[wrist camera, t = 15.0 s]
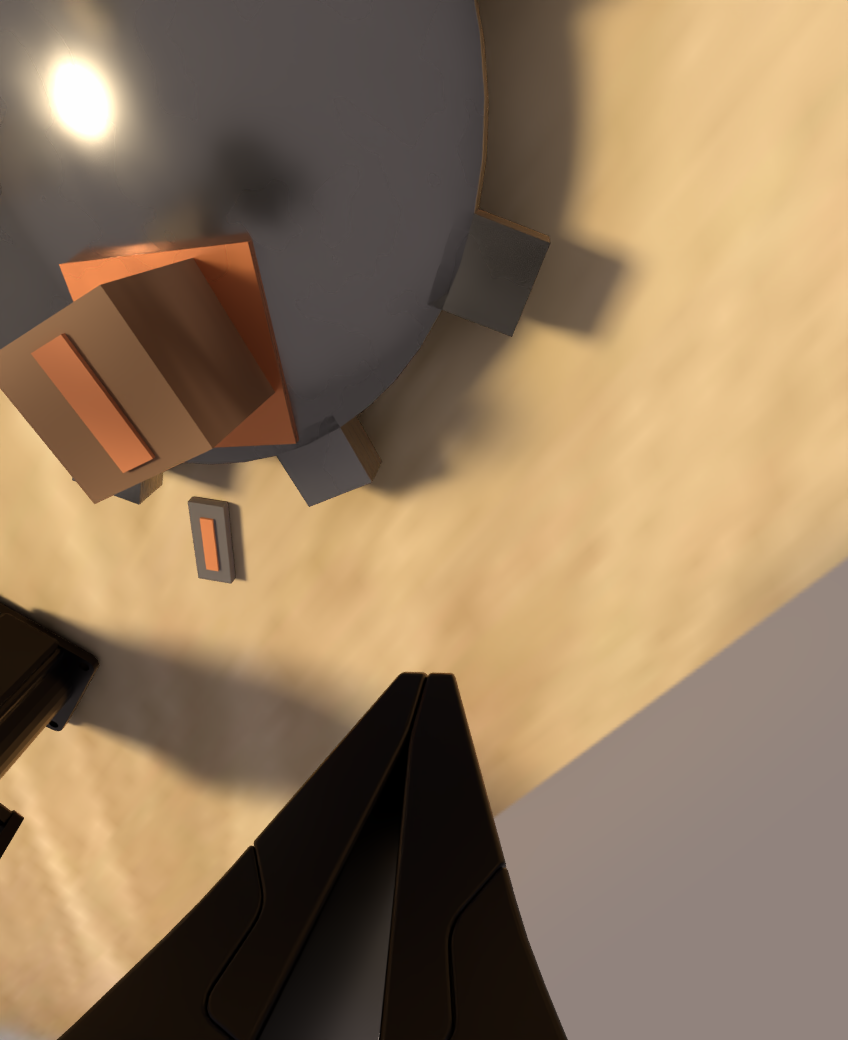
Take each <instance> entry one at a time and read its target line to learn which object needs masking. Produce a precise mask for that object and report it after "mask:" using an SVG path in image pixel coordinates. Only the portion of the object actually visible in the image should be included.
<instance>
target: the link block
mask: <svg viewBox="0 0 848 1040" xmlns="http://www.w3.org/2000/svg"><path fill="white" fill-rule="evenodd" d="M0 389H1V390H2V391H3V392H4V394H5V395H6V396H7V397H8V398H9V400H10V401H11V402H12V403H13V405H14V406H15V407H16V408H17V409H18V411H19V412H20V413H21V414H22V416H23V417H24V418H25V419H26V421H27V422H28V423H29V424H30V425H31V427H32V428H33V429H34V430H35V432H36V433H37V434H38V435H39V436H40V438H41V439H42V440H43V441H44V443H45V444H46V445H47V446H48V448H49V449H50V450H51V451H52V452H53V454H54V455H55V456H56V457H57V459H58V460H59V461H60V462H61V464H62V465H63V466H64V467H65V468H66V470H67V471H68V472H69V473H70V475H71V476H72V477H73V478H74V479H75V481H76V482H77V483H78V484H79V486H80V487H81V488H82V489H83V491H84V492H85V493H86V494H87V495H88V497H89V498H90V499H91V500H92V502H93V503H94V504H96V503H98V502H100V501H102V500H104V499H106V498H109V497H111V496H113V495H115V494H117V493H119V492H121V491H123V490H126V489H128V488H130V487H132V486H134V485H136V484H138V483H141V482H143V481H145V480H147V479H149V478H151V477H153V476H155V475H158V474H160V473H162V472H164V471H166V470H168V469H170V468H173V467H175V466H177V465H179V464H181V463H183V462H185V461H187V460H190V459H192V458H194V457H196V456H198V455H200V454H202V453H205V452H207V451H209V450H211V449H213V448H214V447H215V446H216V445H217V444H218V443H220V442H221V441H222V440H223V439H224V438H225V437H226V436H227V435H228V434H230V433H231V432H232V431H233V430H234V429H235V428H236V427H237V426H238V425H240V424H241V423H242V422H243V421H244V420H245V419H246V418H247V417H248V416H250V415H251V414H252V413H253V412H254V411H255V410H256V409H257V408H258V407H260V406H261V405H262V404H263V403H264V402H265V401H266V400H267V399H268V398H270V397H271V396H272V395H273V394H274V393H275V391H274V389H273V388H272V386H271V385H270V383H269V381H268V380H267V378H266V376H265V375H264V373H263V371H262V370H261V368H260V367H259V365H258V363H257V362H256V360H255V358H254V357H253V355H252V354H251V352H250V350H249V349H248V347H247V345H246V344H245V342H244V340H243V339H242V337H241V336H240V334H239V332H238V331H237V329H236V327H235V326H234V324H233V322H232V321H231V319H230V318H229V316H228V314H227V313H226V311H225V309H224V308H223V306H222V305H221V303H220V301H219V300H218V298H217V296H216V295H215V293H214V291H213V290H212V288H211V287H210V285H209V283H208V282H207V280H206V278H205V277H204V275H203V274H202V272H201V270H200V269H199V267H198V265H197V264H196V262H195V260H194V259H193V258H190V259H187V260H183V261H180V262H176V263H173V264H169V265H166V266H163V267H159V268H156V269H152V270H149V271H145V272H142V273H139V274H135V275H132V276H128V277H125V278H121V279H118V280H115V281H111V282H108V283H104V284H101V285H99V286H97V287H96V288H94V289H93V290H91V291H90V292H88V293H87V294H85V295H84V296H82V297H80V298H79V299H77V300H76V301H74V302H73V303H71V304H70V305H68V306H67V307H65V308H64V309H62V310H60V311H59V312H57V313H56V314H54V315H53V316H51V317H50V318H48V319H47V320H45V321H44V322H42V323H40V324H39V325H37V326H36V327H34V328H33V329H31V330H30V331H28V332H27V333H25V334H24V335H22V336H20V337H19V338H17V339H16V340H14V341H13V342H11V343H10V344H8V345H7V346H5V347H4V348H2V349H0Z"/></svg>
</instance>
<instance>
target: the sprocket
mask: <svg viewBox="0 0 848 1040" xmlns="http://www.w3.org/2000/svg"><path fill="white" fill-rule="evenodd" d="M488 107H489V99H488V85H487V70H486V56H485V42H484V36H483V30H482V25H481V19H480V14H479V8H478V2H477V0H0V349H2V348H4V347H5V346H7V345H8V344H10V343H11V342H13V341H14V340H16V339H17V338H19V337H20V336H22V335H24V334H25V333H27V332H28V331H30V330H31V329H33V328H34V327H36V326H37V325H39V324H40V323H42V322H44V321H45V320H47V319H48V318H50V317H51V316H53V315H54V314H56V313H57V312H59V311H60V310H62V309H64V308H65V307H67V306H68V305H70V304H71V303H73V302H74V301H76V300H77V299H79V298H80V297H82V296H84V295H85V294H87V293H88V292H90V291H91V290H93V289H94V288H96V287H97V286H99V285H101V284H104V283H108V282H111V281H115V280H118V279H121V278H125V277H128V276H132V275H135V274H139V273H142V272H145V271H149V270H152V269H156V268H159V267H163V266H166V265H169V264H173V263H176V262H180V261H183V260H187V259H190V258H193V259H194V260H195V262H196V264H197V265H198V267H199V269H200V270H201V272H202V274H203V275H204V277H205V278H206V280H207V282H208V283H209V285H210V287H211V288H212V290H213V291H214V293H215V295H216V296H217V298H218V300H219V301H220V303H221V305H222V306H223V308H224V309H225V311H226V313H227V314H228V316H229V318H230V319H231V321H232V322H233V324H234V326H235V327H236V329H237V331H238V332H239V334H240V336H241V337H242V339H243V340H244V342H245V344H246V345H247V347H248V349H249V350H250V352H251V354H252V355H253V357H254V358H255V360H256V362H257V363H258V365H259V367H260V368H261V370H262V371H263V373H264V375H265V376H266V378H267V380H268V381H269V383H270V385H271V386H272V388H273V389H274V391H275V393H274V394H273V395H272V396H271V397H270V398H268V399H267V400H266V401H265V402H264V403H263V404H262V405H261V406H260V407H258V408H257V409H256V410H255V411H254V412H253V413H252V414H251V415H250V416H248V417H247V418H246V419H245V420H244V421H243V422H242V423H241V424H240V425H238V426H237V427H236V428H235V429H234V430H233V431H232V432H231V433H230V434H228V435H227V436H226V437H225V438H224V439H223V440H222V441H221V442H220V443H218V444H217V445H216V446H215V447H214V448H213V449H211V450H209V451H207V452H205V453H202V454H200V455H198V456H196V457H194V458H192V459H190V460H187V461H185V462H183V463H199V464H223V463H238V462H247V461H252V460H257V459H262V458H267V457H272V456H277V458H278V459H279V461H280V462H281V464H282V465H283V467H284V469H285V470H286V472H287V473H288V475H289V476H290V478H291V480H292V481H293V483H294V484H295V486H296V487H297V489H298V490H299V492H300V494H301V495H302V497H303V498H304V500H305V501H306V503H307V505H308V506H309V507H310V506H313V505H315V504H318V503H320V502H323V501H326V500H328V499H331V498H333V497H336V496H338V495H341V494H343V493H346V492H348V491H351V490H353V489H356V488H359V487H361V486H364V485H366V484H369V483H371V482H372V481H373V479H374V477H375V475H376V473H377V471H378V469H379V467H380V465H381V463H382V461H381V459H380V457H379V455H378V454H377V452H376V450H375V448H374V446H373V445H372V443H371V441H370V439H369V438H368V436H367V434H366V432H365V430H364V429H363V427H362V425H361V423H360V421H359V420H358V418H357V416H356V415H358V414H359V413H360V412H362V411H363V410H365V409H366V408H367V407H369V406H370V405H371V404H372V403H373V402H374V401H375V400H376V399H377V398H378V397H379V396H380V395H381V394H382V393H383V392H384V391H385V390H386V389H387V388H388V387H389V386H390V385H391V384H392V383H393V382H394V381H395V380H396V379H397V377H398V376H399V375H400V373H401V372H402V371H403V370H404V368H405V367H406V366H407V364H408V363H409V362H410V360H411V359H412V358H413V356H414V355H415V354H416V352H417V351H418V350H419V349H420V347H421V346H422V344H423V342H424V341H425V339H426V337H427V336H428V334H429V332H430V331H431V329H432V327H433V325H434V324H435V322H436V320H437V318H438V316H439V315H440V313H441V311H442V310H443V311H446V312H448V313H451V314H453V315H456V316H459V317H461V318H464V319H467V320H469V321H472V322H474V323H477V324H480V325H482V326H485V327H488V328H490V329H493V330H495V331H498V332H501V333H503V334H506V335H509V336H511V337H512V336H513V333H514V331H515V328H516V326H517V323H518V321H519V318H520V316H521V314H522V311H523V309H524V306H525V304H526V301H527V299H528V296H529V294H530V291H531V289H532V287H533V284H534V282H535V279H536V277H537V274H538V272H539V269H540V267H541V264H542V262H543V260H544V257H545V255H546V252H547V250H548V247H549V245H550V239H549V236H547V235H545V234H542V233H540V232H537V231H534V230H532V229H529V228H527V227H524V226H522V225H519V224H516V223H514V222H511V221H509V220H506V219H504V218H501V217H498V216H496V215H493V214H491V213H488V212H486V211H483V210H480V209H479V205H480V198H481V191H482V185H483V178H484V172H485V165H486V158H487V133H488ZM72 480H73V481H75V479H74V478H73V477H72ZM162 481H163V472H162V473H160V474H158V475H155V476H153V477H151V478H149V479H147V480H145V481H143V482H141V483H138V484H136V485H134V486H132V487H130V488H128V489H126V490H123V491H121V492H119V493H117V494H115V495H114V496H117V497H120V498H122V499H125V500H128V501H131V502H133V503H136V504H141V503H142V502H143V501H144V500H145V499H146V498H147V497H149V496H150V495H151V494H152V493H153V492H154V491H155V490H157V489H158V488H159V487H160V486H161V485H162Z"/></svg>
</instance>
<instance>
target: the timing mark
mask: <svg viewBox="0 0 848 1040" xmlns="http://www.w3.org/2000/svg"><path fill="white" fill-rule="evenodd" d="M188 507H189V514H190V521H191V528H192V536H193V543H194V550H195V557H196V564H197V571H198V578H201V579H207V580H213V581H219V582H225V583H232V582H233V581H234V579H235V568H234V558H233V548H232V538H231V529H230V519H229V509H228V502H224V501H218V500H211V499H205V498H198V497H192V498H191V499H190V500H189V501H188Z"/></svg>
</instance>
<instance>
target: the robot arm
mask: <svg viewBox="0 0 848 1040" xmlns="http://www.w3.org/2000/svg"><path fill="white" fill-rule="evenodd" d="M98 667H99V662H98V660H97V659H96V657H94V656H93V655H91V654H90V653H88V652H86V651H84V650H83V649H81V648H79V647H77V646H75V645H74V644H72V643H70V642H68V641H67V640H65V639H63V638H61V637H59V636H58V635H56V634H54V633H52V632H51V631H49V630H47V629H45V628H44V627H42V626H40V625H38V624H36V623H35V622H33V621H31V620H29V619H28V618H26V617H24V616H22V615H21V614H19V613H17V612H15V611H13V610H12V609H10V608H8V607H6V606H5V605H3V604H1V603H0V779H1V778H2V777H3V776H4V774H5V773H6V772H7V771H8V770H9V769H10V767H11V766H12V765H13V764H14V763H15V762H16V760H17V759H18V758H19V757H20V756H21V755H22V753H23V752H24V751H25V750H26V749H27V748H28V746H29V745H30V744H31V743H32V742H33V741H34V740H35V738H36V737H37V736H38V735H39V734H40V733H41V731H42V730H43V729H44V728H45V727H48V728H50V729H52V730H55V731H61V730H62V729H63V728H64V727H65V725H66V724H67V723H68V721H69V719H70V718H71V716H72V714H73V712H74V710H75V709H76V707H77V705H78V703H79V701H80V699H81V698H82V696H83V694H84V692H85V690H86V689H87V687H88V685H89V683H90V681H91V679H92V678H93V676H94V674H95V672H96V670H97V668H98ZM23 819H24V817H22V816H21V815H20V814H19V813H17V812H16V811H15V810H13V811H10V810H9V809H8V808H6V807H5V806H4V805H2V804H1V803H0V858H1V857H2V855H3V853H4V852H5V850H6V848H7V847H8V845H9V843H10V842H11V840H12V838H13V836H14V835H15V833H16V831H17V830H18V828H19V826H20V825H21V823H22V821H23ZM379 1033H380V1034H379ZM378 1037H379V1040H568V1039H567V1037H566V1035H565V1032H564V1030H563V1027H562V1025H561V1022H560V1020H559V1018H558V1015H557V1013H556V1010H555V1008H554V1005H553V1003H552V1000H551V998H550V996H549V993H548V991H547V988H546V986H545V983H544V980H543V978H542V975H541V972H540V970H539V967H538V964H537V962H536V959H535V956H534V954H533V951H532V949H531V946H530V943H529V941H528V938H527V934H526V931H525V928H524V925H523V921H522V918H521V915H520V912H519V908H518V905H517V902H516V899H515V895H514V892H513V887H512V884H511V880H510V876H509V873H508V870H507V869H506V863H505V859H504V856H503V852H502V848H501V844H500V841H499V837H498V833H497V829H496V826H495V822H494V818H493V815H492V811H491V807H490V803H489V800H488V796H487V792H486V789H485V785H484V781H483V778H482V774H481V770H480V766H479V763H478V759H477V755H476V752H475V748H474V744H473V741H472V737H471V733H470V729H469V726H468V722H467V718H466V715H465V711H464V707H463V704H462V700H461V696H460V692H459V689H458V685H457V681H456V678H455V676H454V674H452V673H430V674H429V675H427V674H426V673H423V672H403V673H401V674H400V675H399V676H398V677H397V678H396V679H395V680H394V681H393V682H392V683H391V685H390V686H389V687H388V688H387V689H386V690H385V691H384V693H383V694H382V695H381V696H380V697H379V698H378V700H377V701H376V702H375V703H374V704H373V705H372V706H371V708H370V709H369V710H368V711H367V712H366V713H365V714H364V716H363V717H362V718H361V719H360V720H359V721H358V722H357V724H356V725H355V726H354V727H353V728H352V729H351V731H350V732H349V733H348V734H347V735H346V736H345V737H344V739H343V740H342V741H341V742H340V743H339V744H338V745H337V747H336V748H335V749H334V750H333V751H332V752H331V753H330V755H329V756H328V757H327V758H326V759H325V760H324V762H323V763H322V764H321V765H320V766H319V767H318V768H317V770H316V771H315V772H314V773H313V774H312V775H311V776H310V778H309V779H308V780H307V781H306V782H305V783H304V784H303V786H302V787H301V788H300V789H299V790H298V791H297V793H296V794H295V795H294V796H293V797H292V798H291V799H290V801H289V802H288V803H287V804H286V805H285V806H284V807H283V809H282V810H281V811H280V812H279V813H278V814H277V815H276V817H275V818H274V819H273V820H272V821H271V822H270V823H269V825H268V826H267V827H266V828H265V829H264V830H263V832H262V833H261V834H260V835H259V836H258V837H257V838H256V840H255V841H254V846H249V847H248V848H247V850H246V851H245V852H244V853H243V854H242V855H241V856H240V858H239V859H238V860H237V861H236V862H235V863H234V864H233V866H232V867H231V868H230V869H229V870H228V871H227V872H226V873H225V874H224V876H223V877H222V878H221V879H220V880H219V881H218V882H217V883H216V884H215V885H214V887H213V888H212V889H211V890H210V891H209V892H208V893H207V894H206V895H205V896H204V897H203V899H202V900H201V901H200V902H199V903H198V904H197V905H196V906H195V907H194V908H193V909H192V910H191V911H190V912H189V913H188V914H187V915H186V916H185V917H184V918H183V919H182V920H181V921H180V922H179V923H178V924H177V925H176V926H175V927H174V928H173V929H172V930H171V931H170V932H169V933H168V934H167V935H166V936H165V937H164V938H163V939H162V940H161V941H160V942H159V943H158V944H157V945H156V946H155V947H154V948H153V949H152V950H150V951H149V952H148V953H147V954H146V955H145V956H144V957H143V958H142V959H141V960H140V961H139V962H138V963H137V964H136V965H135V966H134V967H133V968H132V969H131V970H130V971H129V972H128V973H127V974H126V975H125V976H124V977H122V978H121V979H120V980H119V981H118V982H117V983H116V984H115V985H114V986H113V987H112V988H111V989H110V990H109V991H108V992H107V993H106V994H105V995H104V996H103V997H102V998H101V999H100V1000H99V1001H98V1002H97V1003H96V1004H95V1005H93V1006H92V1007H91V1008H90V1009H89V1010H88V1011H87V1012H86V1013H85V1014H84V1015H83V1016H82V1017H81V1018H80V1019H79V1020H78V1021H77V1022H76V1023H75V1024H74V1025H73V1026H71V1027H70V1028H69V1029H68V1030H67V1031H66V1032H65V1033H64V1034H63V1035H62V1036H61V1037H59V1038H58V1039H57V1040H378Z"/></svg>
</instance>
